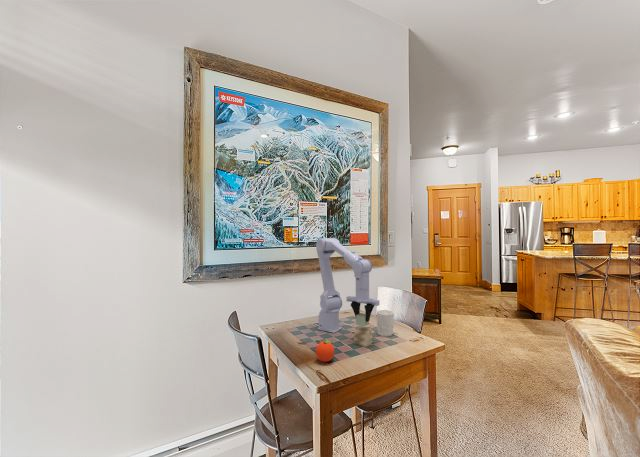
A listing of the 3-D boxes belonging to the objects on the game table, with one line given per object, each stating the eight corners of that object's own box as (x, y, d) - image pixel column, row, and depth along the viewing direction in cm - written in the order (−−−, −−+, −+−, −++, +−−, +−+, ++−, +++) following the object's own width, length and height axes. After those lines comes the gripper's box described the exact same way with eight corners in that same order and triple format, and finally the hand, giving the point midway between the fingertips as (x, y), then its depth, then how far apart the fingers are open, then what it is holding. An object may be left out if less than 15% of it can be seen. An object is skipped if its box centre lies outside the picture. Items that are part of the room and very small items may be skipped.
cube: (356, 324, 124) (356, 315, 124) (360, 322, 127) (360, 313, 127) (364, 326, 122) (364, 316, 122) (368, 323, 125) (368, 314, 125)
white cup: (394, 337, 130) (394, 314, 130) (376, 336, 132) (376, 314, 132) (393, 331, 138) (393, 310, 138) (376, 330, 140) (376, 309, 140)
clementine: (325, 354, 113) (325, 335, 113) (340, 359, 109) (339, 340, 109) (311, 361, 107) (311, 342, 107) (326, 367, 103) (326, 346, 103)
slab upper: (354, 338, 123) (354, 330, 123) (358, 333, 128) (357, 326, 128) (368, 339, 121) (368, 332, 121) (371, 335, 126) (371, 328, 126)
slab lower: (353, 344, 124) (353, 337, 124) (360, 339, 129) (360, 332, 129) (366, 347, 120) (366, 340, 120) (373, 342, 125) (372, 335, 125)
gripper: (342, 288, 126) (343, 319, 125) (374, 291, 118) (374, 325, 117) (350, 285, 131) (350, 315, 131) (381, 288, 123) (381, 321, 123)
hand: (362, 320), depth 125 cm, fingers closed on cube, 4 cm apart
